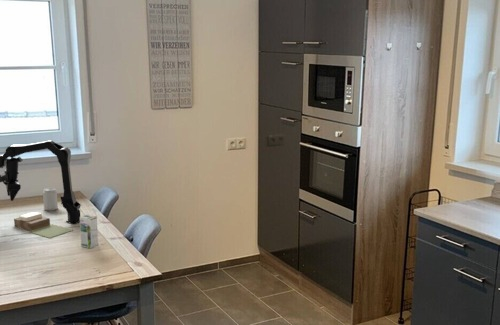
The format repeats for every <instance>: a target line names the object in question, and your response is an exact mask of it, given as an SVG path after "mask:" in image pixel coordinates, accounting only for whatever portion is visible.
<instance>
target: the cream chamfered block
mask: <svg viewBox="0 0 500 325" xmlns="http://www.w3.org/2000/svg"><path fill="white" fill-rule="evenodd" d="M42 216H43V215H42V213H41V212H37V211H32V212H28V213H24V214H21V215H19V216H18V218H19V220H23V221H26V222H27V221H30V220H34V219H37V218H41V217H42Z"/></svg>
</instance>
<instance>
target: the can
mask: <svg viewBox="0 0 500 325" xmlns="http://www.w3.org/2000/svg"><path fill="white" fill-rule="evenodd" d="M42 199H43V201H42V202H43V209H44V210H45V211H49V212H51V211H56V210H57V208H59V207H58V192H57V190H56V187H55V188H54V187H47V188H43V191H42Z"/></svg>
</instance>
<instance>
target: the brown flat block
mask: <svg viewBox="0 0 500 325" xmlns="http://www.w3.org/2000/svg"><path fill="white" fill-rule="evenodd" d="M13 223H14V227H15V228H19V229H22V230H26V231H28V230H29V231H32V230H35V229H39V228H42V227H45V226H48V225H51V220H50V217H46V216H43V215H42V217H41V218H37V219H34V220H30V221H27V222H26V221H23V220H19V217H16V218H13ZM29 231H28V232H29Z"/></svg>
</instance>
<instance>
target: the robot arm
mask: <svg viewBox="0 0 500 325" xmlns="http://www.w3.org/2000/svg"><path fill="white" fill-rule="evenodd" d="M43 150H48V151H50V152H51V153H52V154H53V155H55V156H56V158H57V161H58V163H59V165H60V168H61V178H62V188H63V193H62V195H60V200H61V201H60V202H61V203H60V205H62V207H63V208H64V209H65V211H66V213H67V220H66V221H65V222H66V223H67V224H73V225H74V224H75V225H76V224H77V223H78V224H79V223H80V217H81V210H80V208H81V206H82V204H81V203H79V201H78V200H77V198H76V195H75V192H74V191H73V184H72V176H71V167H70V163H71V157H72V156H71V155H72V153H71V149H70V148H68V147H64V146H63V145H61V144H59V143H57V142H55V141H53V140H52V139H50V140H46V141H45V140H44V141H40V142H36V143H35V142H34V143H28V144H18V143H17V144H11V145H10V146H9V145H8V146H7V147H6V148H5V152H4V153H3V154H0V169H3V168H4V167H5V170H4V172H3V173H0V183H3V184H4V185H5V188H6V192H7V194H6V195H7V196H8V197H10V198H9V199H10V202H11V201H12V202H13V201H14V200H15V198H16V196H17V195H18V193H19V192H20V191H21V186H22V185H21V183H19V179H18V178H19V177H18V175H19V172H20V171H19V163H22V162H23V160H24V159H22V157H21V156H20V155H22V154H25V153H30V152H31V153H32V152H38V151H43Z"/></svg>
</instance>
